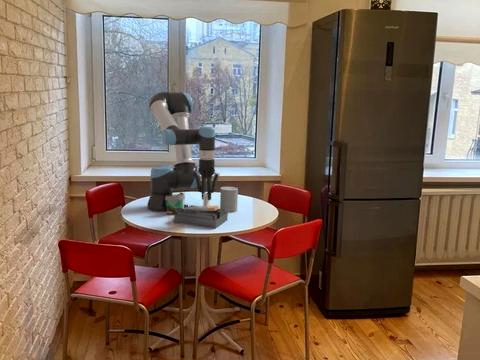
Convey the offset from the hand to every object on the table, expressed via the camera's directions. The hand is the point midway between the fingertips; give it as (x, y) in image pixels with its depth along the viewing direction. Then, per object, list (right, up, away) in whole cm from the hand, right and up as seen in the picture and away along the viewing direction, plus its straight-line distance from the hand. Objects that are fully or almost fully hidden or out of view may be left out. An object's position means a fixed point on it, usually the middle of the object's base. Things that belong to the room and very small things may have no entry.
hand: (206, 206), depth 234 cm
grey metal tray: (-3, -8, +3) cm, 9 cm away
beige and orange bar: (-3, -2, +2) cm, 4 cm away
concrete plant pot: (+10, -4, +25) cm, 28 cm away
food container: (-16, -5, +15) cm, 23 cm away
